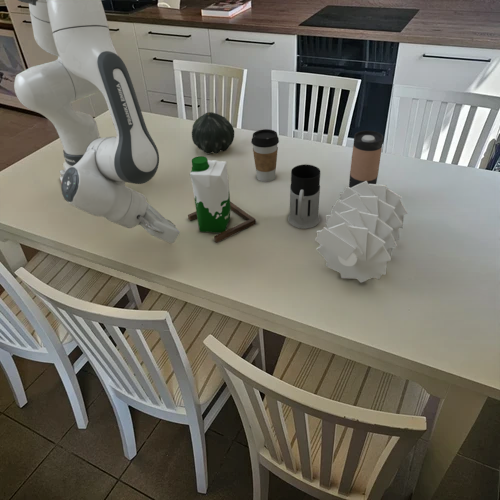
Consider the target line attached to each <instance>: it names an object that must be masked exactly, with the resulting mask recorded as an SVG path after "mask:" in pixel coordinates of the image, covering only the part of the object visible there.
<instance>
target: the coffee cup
mask: <svg viewBox="0 0 500 500" xmlns="http://www.w3.org/2000/svg"><path fill="white" fill-rule="evenodd" d="M279 142H280V140H279V136H278V132H276V131H275V130H274V129H270V128H269V129H268V128H264V129H258V130H256V131H254V132H253V133H252V137H251V142H250V143H251V144H252V152H253V160H254V168H255V174H256V179H257V180H258V181H260V182H265V183H268V182H271V181H273V180H275V178H276V169H277V162H278V161H277V160H278V150H279V146H278V144H279Z"/></svg>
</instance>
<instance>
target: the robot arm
mask: <svg viewBox="0 0 500 500" xmlns="http://www.w3.org/2000/svg"><path fill="white" fill-rule="evenodd" d="M17 1H18V2H20V3H25V4H28V9H29V15H30V21H31V28H32V33H33V39H34V40H35V42H36V44H37V45H38V47H39V48H40V49H42V50H43V51H44V52H45V53H47V54H51V56H55V57H57V59H55V60H53V61H49V62H45V63H42V64H38V65H33V66H30V67H29V68H26V69H24V70H23V71H21V72H19V73H18V74H16V75H15V77H14V81H13V82H14V83H13V88H14V93H15V96H16V97H17V99H18V101H19V103H21V105H23V106H24V107H25V108H27V109H28V110H30V111H32V112H35V113H38V114H39V115H42V116H43V117H45V118H46V119H47V120H48V121H49V122H50V123H51V124H52V125H53V127H54V128H55V131H56V133H57V134H58V137H59V139H60V143H61V146H62V148H63V151H62V152H63V158H64V161H63V163H62V167H63V169H60V170H59V174H60V175H59V179H60V183H61V186H60V188H61V194H62V197H63V198H64V200H65V201H66V202H67V203H68V204H69V205H71V206H72V207H74V208H76V209H78V210H80V211H81V212H82V211H83V212H85V213H86V214H89V215H92V216H94V217H101V218H105V219H106V220H107V221H109V222H111V223H113V224H116V225H118V226H122V227H124V228H127V229H134V228H135V227H137V226H140V227H141V228H142V229H143V230H144V231H146V232H147V233H148V234H149V235H151V236H152V237H155V238H157V239H159V240H161V241H164V242H166V243H169V244H174V243H175V242H176V240H177V239H178V238H179V236H180V233H181V231H180V230H179V229H178V228H177V227H176V225H175V223H173V222H172V221H171V220H169V219H168V218H166V217H165V216H163V214H161V213H160V212H159V211H158V210H157V209H156V208H154V207H153V206H152V205H151V204H150V203H149V202H148V201H147V198H146V196H145V194H143V193H142V192H139V191H137V190H135V189H132V188H130V187H129V186H127V185H126V183H130V184H134V185H143V184H146V183H148V182H150V181H151V180H152V179H153V178H154V177H155V175H156V173H157V171H158V169H159V165H160V153H159V150H158V147H157V145H156V143H155V141H154V139H153V137H152V136H151V134H150V132H149V130H148V128H147V124H146V122H145V119H144V115H143V112H142V110H141V106H140V102H139V100H138V96H137V93H136V91H135V87H134V84H133V82H132V78H131V76H130V73H129V71H128V68H127V66H126V64H125V62H124V61H123V59H122V58H121V57H120V56H119V54H118V52H117V50H116V48H115V45H114V42H113V39H112V36H111V31H110V29H109V28H110V27H109V23H108V19H107V16H106V12H105V8H104V5H103V2H102V0H17ZM99 93H101V94H102V96H103V97H104V100H105V102H106V105H107V109H108V112H109V115H110V117H111V121H112V123H113V127H114V130H115V133H116V136H103V137H101V135H100V130H99V127H98V123H97V121H96V120H95V118H94V117H93V116H92V115H91V114H89V113H87V112H83V111H79V110H74V108H73V104H72V103H74V102H76V101H79V100H83V99H85V98H89V97H92V96H95V95H96V94H99Z"/></svg>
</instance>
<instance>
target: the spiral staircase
mask: <svg viewBox="0 0 500 500" xmlns="http://www.w3.org/2000/svg"><path fill="white" fill-rule="evenodd" d="M402 199H403V196H402V195H400V194H398V193H396V192H395V191H394V190H391V189H390V188H387V184H378V183H376V184H368V182H367V181H365V182H363V183H360V184H358V185H356V186H353V187H352V188H350V187H349V185H347V186H346V188H344V190H343V192H339V198H338V199H337V200H336V202H335V204H334V205H332V207H331V211H330V214H326V215H325V218H326V221H325V223H324V224H325V226H327V227H325V226H323V228H322V229H321V230H320V229H319V230H316V235H317V236H316V237H315V239H314V241H315V242H316V243H318V244H319V246H318V247H316V249H315V250H316V251H317V252H318V253H319V255H320V256H321V257H322V258H323V259H324V260H325V261H326V263H325V267H326V268H329V269H330V270H333V271H335V272H337V273H339V274H340V279H357V280H358V282H359V283H360V284H362V283H364V282H366V281H368V280H370V279H372V278H374V279H376V280H380V279H381V277H382V275H384V276H386V275H387V266H388V262H390V261H392V252H393V248H397V247H398V244H397V242H396V241H400V229H403V228H404V218H405V215H408V214H409V212H408V211H407V209H406V207H405V205H404V204H403V201H402Z"/></svg>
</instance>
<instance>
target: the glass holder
mask: <svg viewBox="0 0 500 500" xmlns="http://www.w3.org/2000/svg"><path fill="white" fill-rule="evenodd" d="M290 172H291V173H290V186H289V192H290V193H289V215H288V217H287V221H288V224H290V226H292V227H294V228H297V229H311V228H315V227H316V226H318V224H319V223H320V221H321V218H320V215H319V212H320V194H321V185H320V183H321V169H320V168H319V167H318V166H315V165H313V164H299V165H296V166H294V167H293V168H292V169H291V170H290Z"/></svg>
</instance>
